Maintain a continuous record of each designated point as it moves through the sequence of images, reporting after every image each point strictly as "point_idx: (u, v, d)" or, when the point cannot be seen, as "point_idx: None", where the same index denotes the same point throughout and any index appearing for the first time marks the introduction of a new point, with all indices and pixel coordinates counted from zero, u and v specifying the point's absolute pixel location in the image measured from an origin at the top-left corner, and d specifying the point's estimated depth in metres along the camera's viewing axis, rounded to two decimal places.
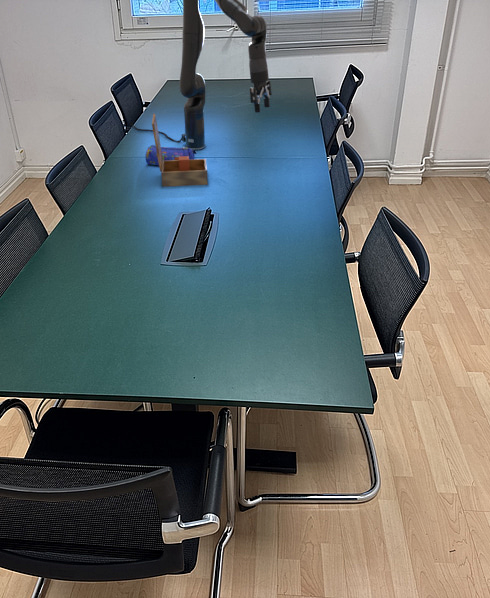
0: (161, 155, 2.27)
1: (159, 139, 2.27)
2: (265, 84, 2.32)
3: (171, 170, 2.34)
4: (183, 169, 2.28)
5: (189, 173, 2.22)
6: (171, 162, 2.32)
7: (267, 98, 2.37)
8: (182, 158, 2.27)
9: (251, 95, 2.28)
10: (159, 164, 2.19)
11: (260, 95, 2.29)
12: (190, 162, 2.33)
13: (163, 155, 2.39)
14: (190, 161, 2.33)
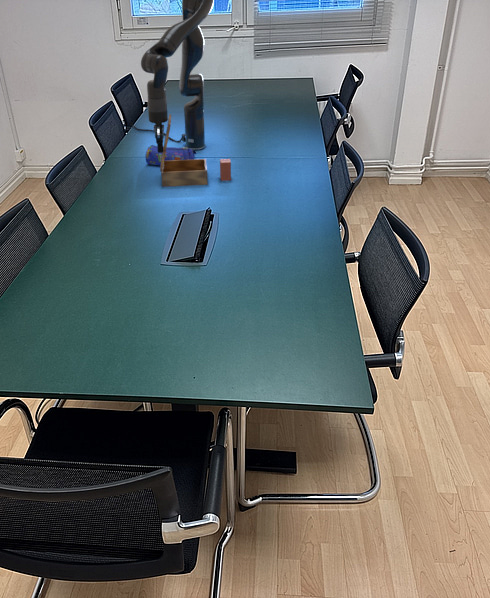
0: None
1: None
2: (155, 126, 2.15)
3: (171, 170, 2.34)
4: (224, 172, 2.26)
5: (189, 173, 2.22)
6: (171, 162, 2.32)
7: None
8: (224, 161, 2.25)
9: None
10: (162, 164, 2.20)
11: None
12: (190, 162, 2.33)
13: None
14: (190, 161, 2.33)
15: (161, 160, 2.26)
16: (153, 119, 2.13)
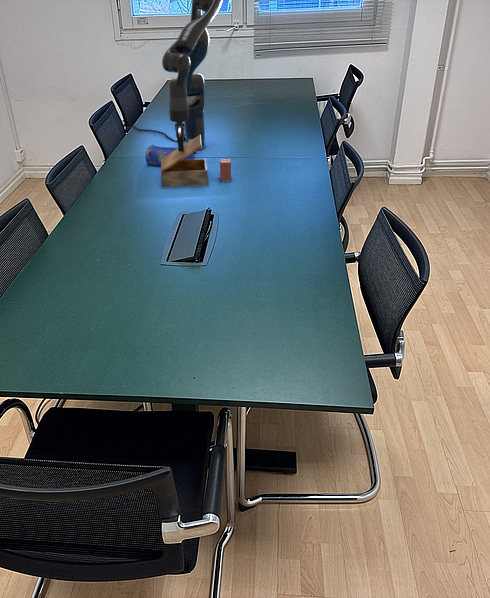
0: None
1: None
2: (176, 125, 2.15)
3: (171, 170, 2.34)
4: (225, 172, 2.26)
5: (189, 173, 2.22)
6: None
7: None
8: (224, 161, 2.25)
9: None
10: (167, 167, 2.20)
11: None
12: (190, 162, 2.33)
13: (163, 155, 2.39)
14: (190, 161, 2.33)
15: (165, 162, 2.26)
16: (174, 118, 2.13)
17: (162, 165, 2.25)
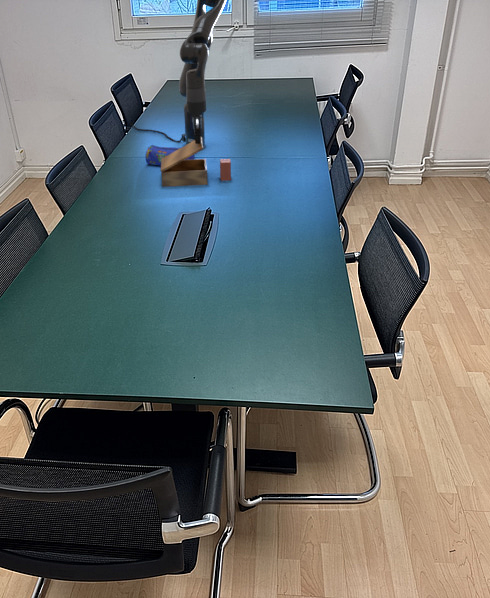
0: None
1: None
2: (194, 117, 2.13)
3: (171, 170, 2.34)
4: (225, 172, 2.26)
5: (189, 173, 2.22)
6: None
7: None
8: (224, 161, 2.25)
9: None
10: (167, 167, 2.20)
11: None
12: (190, 162, 2.33)
13: (163, 155, 2.39)
14: (190, 161, 2.33)
15: (165, 162, 2.26)
16: (192, 110, 2.11)
17: (162, 165, 2.25)
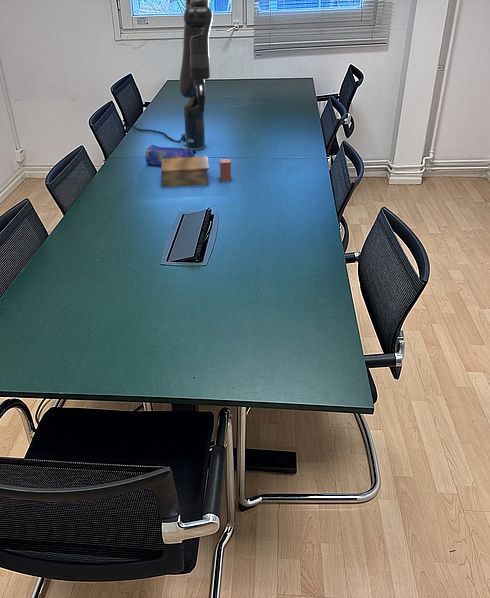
0: None
1: None
2: (197, 83, 2.12)
3: None
4: (224, 172, 2.26)
5: (189, 173, 2.22)
6: None
7: None
8: (224, 161, 2.25)
9: None
10: (168, 170, 2.21)
11: None
12: None
13: (163, 155, 2.39)
14: None
15: (166, 164, 2.27)
16: (195, 76, 2.10)
17: (163, 166, 2.25)
